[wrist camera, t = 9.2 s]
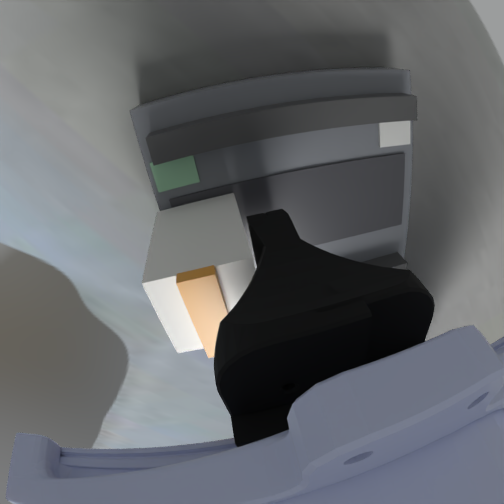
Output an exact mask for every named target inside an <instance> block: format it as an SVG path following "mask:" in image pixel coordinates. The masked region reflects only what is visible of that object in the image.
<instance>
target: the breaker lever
mask: <svg viewBox="0 0 504 504" xmlns="http://www.w3.org/2000/svg"><path fill="white" fill-rule="evenodd" d="M255 271H256V270H255V266H254V261H253V257H252V253H251V250H250V246H249V243H248V240H247V236H246V233H245V229H244V226H243V223H242V219H241V216H240V212H239V209H238V206H237V202H236V199H235V196H234V193H230V194H226V195H222V196H218V197H213V198H209V199H205V200H201V201H197V202H193V203H189V204H185V205H181V206H177V207H174V208H170V209H166V210H162V211H158V212H157V215H156V219H155V224H154V228H153V232H152V237H151V241H150V246H149V250H148V255H147V260H146V265H145V270H144V275H143V280H142V285H143V287H144V289H145V291H146V293H147V295H148V297H149V299H150V301H151V303H152V305H153V307H154V309H155V311H156V313H157V315H158V317H159V319H160V321H161V323H162V325H163V327H164V329H165V331H166V332H167V334H168V336H169V338H170V340H171V342H172V344H173V345H174V347H175V349H176V351H177V353H182V352H187V351H193V350H198V349H203V348H204V349H205V351H206V353H207V356H208V358H212V357H214V352H215V344H216V338H217V333H218V329H219V324H220V322H221V321H222V320H223V319H224V318H225V317H226V315H227V314H228V313H229V312H230V311H231V310H232V309H233V307H234V306H235V305H236V304H237V302H238V301H239V299H240V298H241V296H242V295H243V293H244V292H245V290H246V289H247V287H248V285H249V283H250V281H251V279H252V277H253V275H254V273H255Z"/></svg>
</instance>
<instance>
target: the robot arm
mask: <svg viewBox="0 0 504 504" xmlns="http://www.w3.org/2000/svg"><path fill="white" fill-rule="evenodd" d="M246 217H247V222H248V226H249V231H250V236H251V241H252V246H253V251H254V256H255V261H256V265H257V269H256V271H255V273H254V275H253V277H252V279H251V281H250V283H249V285H248V287H247V289H246V290H245V292H244V293H243V295H242V296H241V298H240V299H239V301H238V302H237V304H236V305H235V306H234V307H233V309H232V310H231V311H230V312H229V313H228V314H227V315H226V317H225V318H224V319H223V320H222V321H221V322H220V324H219V329H218V333H217V338H216V344H215V352H214V372H215V381H216V386H217V390H218V393H219V395H220V396H221V398H222V400H223V402H224V404H225V406H226V408H227V410H228V411H229V413H230V415H231V420H232V427H233V433H234V438H230V439H224V440H218V441H211V442H204V443H196V444H187V445H178V446H167V447H153V448H133V449H83V448H65V447H60V446H59V445H58V444H57V443H56V442H54V441H53V440H52V439H50V438H48V437H46V436H43V435H39V434H29V433H16V437H15V442H14V447H13V452H12V457H11V463H10V469H9V476H8V484H7V491H6V499H7V500H8V501H9V502H11V503H14V504H504V337H502V338H501V339H499V340H497V341H496V342H494V343H492V344H491V345H490V344H489V342H488V341H487V340H486V338H485V337H484V336H483V335H482V333H481V332H480V331H479V330H478V329H477V328H476V327H475V326H474V325H470V326H464V327H460V328H456V329H452V330H450V331H448V332H446V333H444V334H441V335H439V336H437V337H435V338H432V339H430V340H428V341H425V338H426V335H427V332H428V329H429V326H430V323H431V320H432V317H433V312H434V300H433V297H432V296H431V294H430V293H429V292H428V290H427V289H426V288H425V287H424V285H423V284H422V283H421V281H420V280H419V279H418V278H417V277H416V276H415V275H414V274H413V273H412V272H411V271H410V270H405V269H397V268H389V267H381V266H376V265H371V264H366V263H362V262H358V261H354V260H350V259H347V258H344V257H341V256H338V255H335V254H332V253H329V252H327V251H325V250H322V249H320V248H318V247H315V246H313V245H311V244H309V243H307V242H306V241H304V240H302V239H300V237H299V235H298V233H297V231H296V229H295V226H294V224H293V222H292V220H291V218H290V216H289V214H288V213H287V212H286V211H285V210H283V209H278V210H273V211H269V212H266V213H265V214H264V213H260V214H255V215H251V216H246Z"/></svg>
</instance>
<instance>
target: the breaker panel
mask: <svg viewBox="0 0 504 504" xmlns="http://www.w3.org/2000/svg"><path fill="white" fill-rule="evenodd" d="M130 114H131V118H132V121H133V125H134V129H135V132H136V136H137V139H138V143H139V146H140V149H141V153H142V156H143V159H144V163H145V166H146V169H147V172H148V176H149V179H150V182H151V185H152V188H153V191H154V194H155V197H156V200H157V203H158V206H159V209H160V211H162V210H166V209H170V208H174V207H177V206H181V205H185V204H189V203H193V202H197V201H201V200H205V199H209V198H213V197H218V196H222V195H226V194H230V193H234V196H235V199H236V202H237V206H238V209H239V212H240V216H241V219H242V223H243V226H244V229H245V233H246V236H247V240H248V243H249V246H250V250H251V253H252V257H253V261H254V266H255V270H256V269H257V265H256V261H255V256H254V251H253V246H252V241H251V236H250V231H249V226H248V222H247V217H246V216H251V215H255V214H260V213H264V214H265V213H266V212H269V211H273V210H278V209H283V210H285V211H286V212H287V213H288V214H289V216H290V218H291V220H292V222H293V224H294V226H295V229H296V231H297V233H298V235H299V237H300V239H302V240H304V241H306V242H307V243H309V244H311V245H313V246H315V247H318V248H320V249H322V250H325V251H327V252H329V253H332V254H335V255H338V256H341V257H344V258H347V259H350V260H354V261H358V262H362V263H366V264H371V265H376V266H381V267H389V268H397V269H405V270H406V269H407V262H406V261H405V260H404V256H405V249H406V240H407V232H408V222H409V211H410V198H411V181H412V151H413V124H412V120H417V98H416V96H414V95H411V79H410V70H404V69H395V68H383V67H377V68H341V69H325V70H312V71H302V72H293V73H284V74H277V75H269V76H263V77H256V78H250V79H244V80H239V81H233V82H228V83H223V84H218V85H214V86H209V87H205V88H200V89H196V90H192V91H188V92H184V93H180V94H176V95H172V96H169V97H165V98H161V99H158V100H155V101H151V102H148V103H145V104H141V105H139V106H137V107H135V108H134V109H132V110H130Z"/></svg>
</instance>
